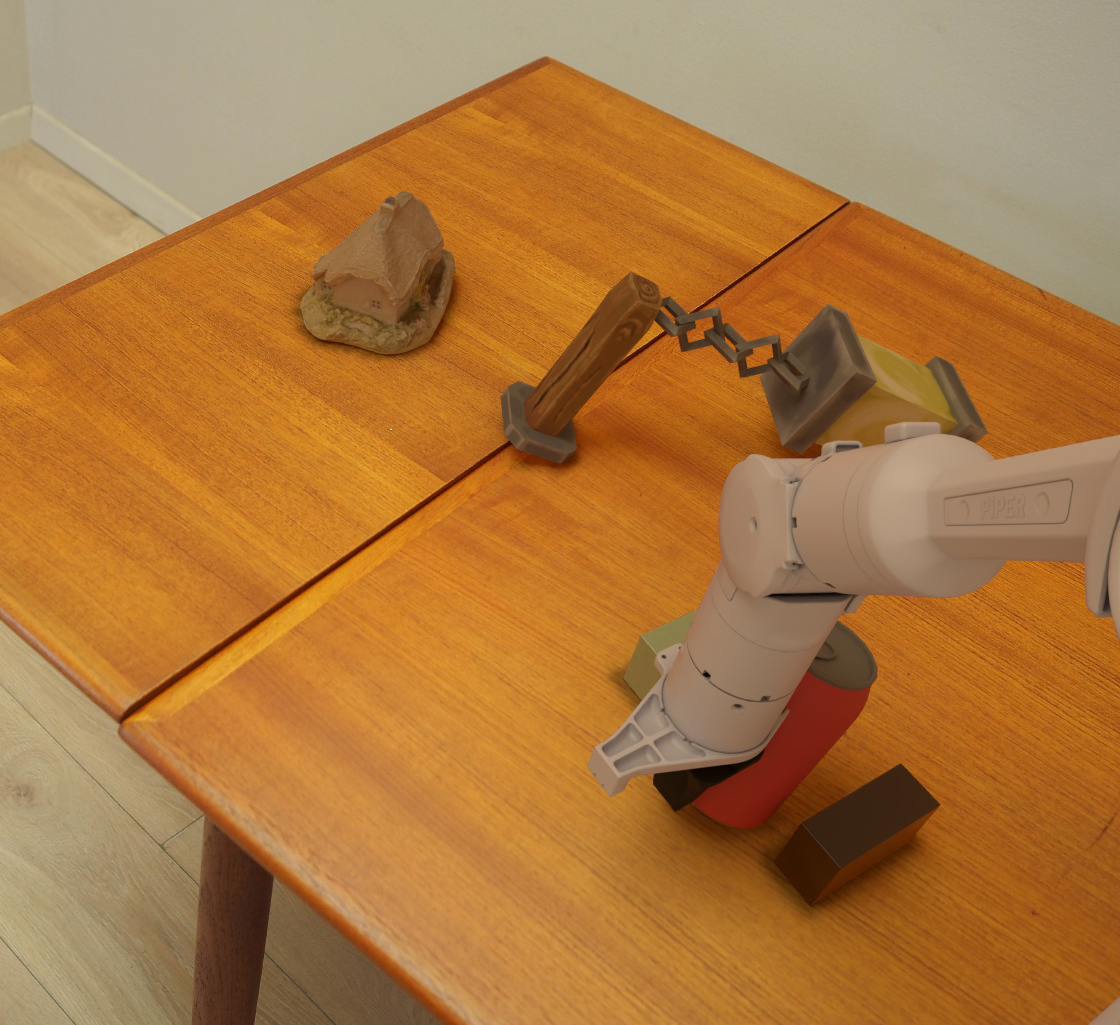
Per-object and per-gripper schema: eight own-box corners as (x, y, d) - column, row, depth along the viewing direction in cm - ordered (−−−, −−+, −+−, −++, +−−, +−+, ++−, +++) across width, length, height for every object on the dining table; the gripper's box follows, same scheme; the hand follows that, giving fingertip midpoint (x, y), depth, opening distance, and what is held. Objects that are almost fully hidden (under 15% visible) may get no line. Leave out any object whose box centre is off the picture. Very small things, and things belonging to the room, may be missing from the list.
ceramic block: (746, 666, 75) (769, 623, 72) (652, 714, 71) (671, 671, 68) (716, 633, 76) (737, 589, 73) (622, 678, 73) (640, 634, 70)
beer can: (646, 746, 68) (750, 603, 61) (727, 734, 71) (834, 597, 64) (707, 842, 64) (826, 700, 57) (790, 824, 67) (912, 688, 60)
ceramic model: (406, 375, 91) (420, 267, 83) (279, 326, 93) (282, 218, 86) (473, 284, 100) (492, 181, 93) (357, 243, 102) (366, 139, 95)
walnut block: (907, 843, 67) (941, 804, 64) (810, 906, 64) (840, 868, 61) (870, 802, 69) (901, 762, 66) (773, 861, 65) (801, 822, 62)
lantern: (803, 503, 99) (499, 381, 88) (953, 363, 88) (626, 206, 78) (826, 571, 94) (505, 451, 83) (988, 432, 83) (643, 273, 72)
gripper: (794, 547, 61) (717, 693, 71) (576, 647, 55) (525, 792, 65) (892, 643, 57) (796, 784, 67) (671, 763, 51) (601, 899, 61)
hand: (669, 795), depth 66 cm, fingers closed, pressing on beer can
